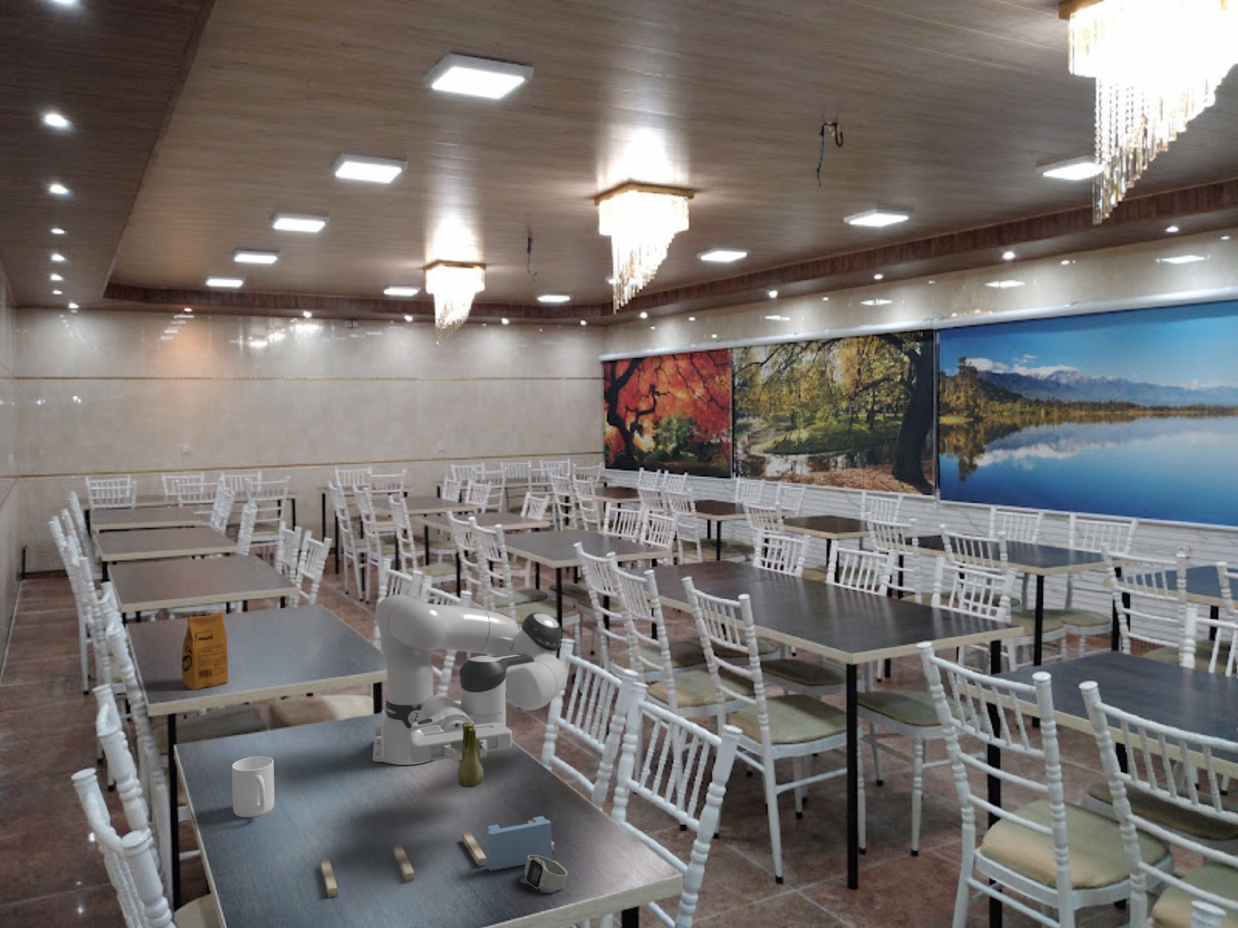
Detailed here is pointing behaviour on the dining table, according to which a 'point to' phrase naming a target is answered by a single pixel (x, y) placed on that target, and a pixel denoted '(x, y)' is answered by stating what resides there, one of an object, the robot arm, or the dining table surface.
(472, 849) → the beige small bars
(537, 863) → the wristwatch
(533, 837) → the blue notched panel
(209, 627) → the coffee package
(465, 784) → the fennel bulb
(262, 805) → the cup
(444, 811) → the dining table surface
